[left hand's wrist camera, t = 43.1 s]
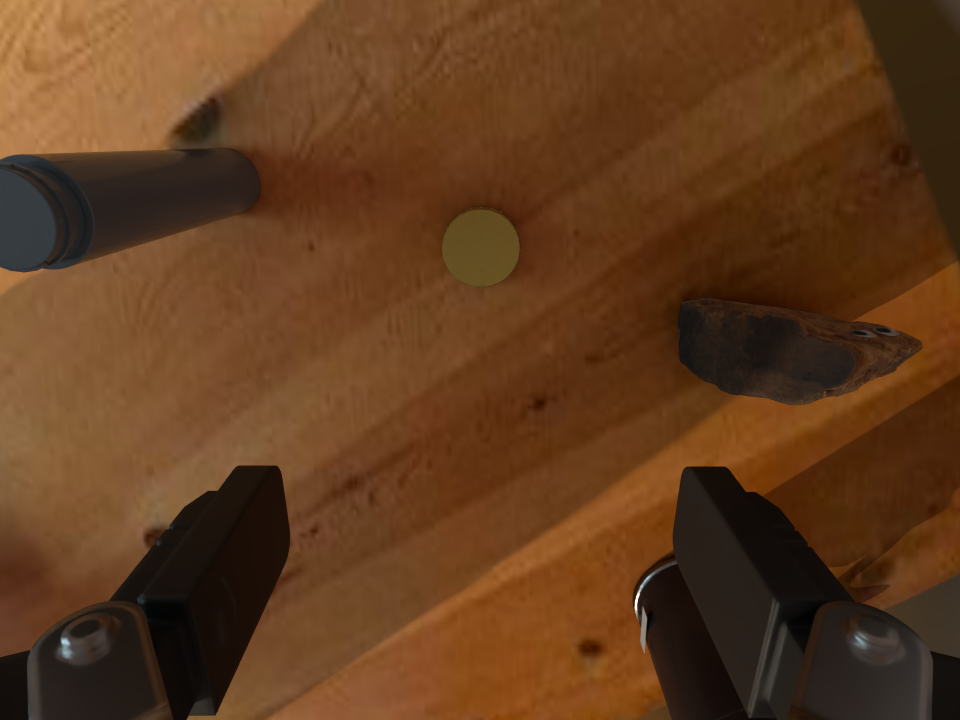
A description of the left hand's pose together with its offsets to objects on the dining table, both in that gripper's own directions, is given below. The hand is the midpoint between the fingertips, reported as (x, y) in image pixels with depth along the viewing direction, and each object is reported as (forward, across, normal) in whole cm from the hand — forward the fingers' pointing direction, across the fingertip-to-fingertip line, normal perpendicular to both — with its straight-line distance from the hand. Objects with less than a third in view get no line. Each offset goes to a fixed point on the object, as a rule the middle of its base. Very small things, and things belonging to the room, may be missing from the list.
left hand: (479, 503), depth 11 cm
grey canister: (+30, +17, -4) cm, 35 cm away
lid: (+29, 0, 0) cm, 29 cm away
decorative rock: (+30, -20, +6) cm, 36 cm away
